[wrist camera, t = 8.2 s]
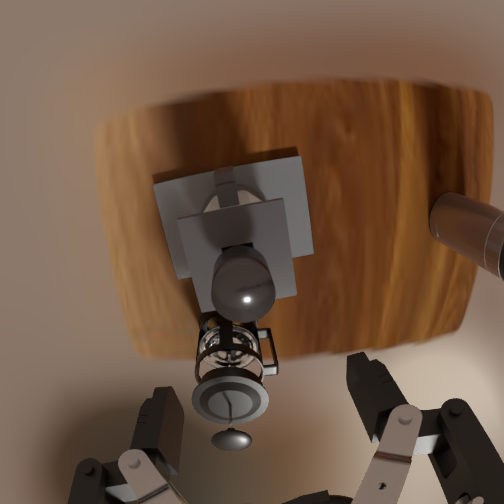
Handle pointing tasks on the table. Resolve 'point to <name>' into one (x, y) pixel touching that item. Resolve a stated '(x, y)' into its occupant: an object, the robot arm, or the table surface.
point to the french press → (231, 378)
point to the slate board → (251, 175)
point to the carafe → (236, 235)
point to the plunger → (242, 284)
